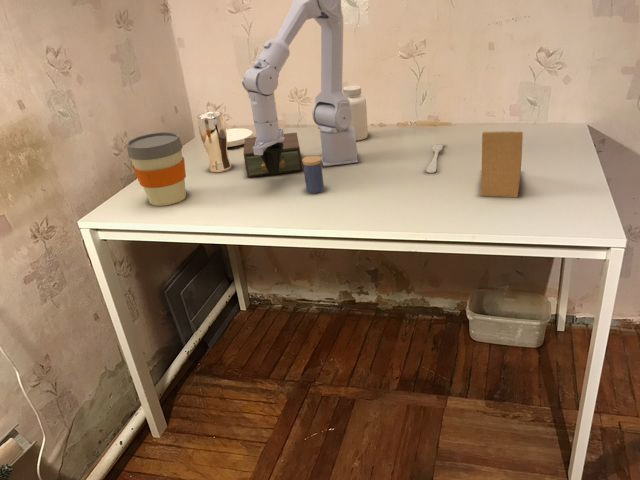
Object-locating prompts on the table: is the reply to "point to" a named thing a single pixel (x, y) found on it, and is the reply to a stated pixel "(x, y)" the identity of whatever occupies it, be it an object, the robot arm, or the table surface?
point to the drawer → (287, 163)
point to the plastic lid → (237, 136)
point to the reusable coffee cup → (159, 166)
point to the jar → (313, 174)
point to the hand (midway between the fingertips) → (273, 173)
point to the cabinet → (288, 145)
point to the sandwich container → (501, 163)
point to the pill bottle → (357, 111)
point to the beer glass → (214, 140)
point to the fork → (434, 159)
